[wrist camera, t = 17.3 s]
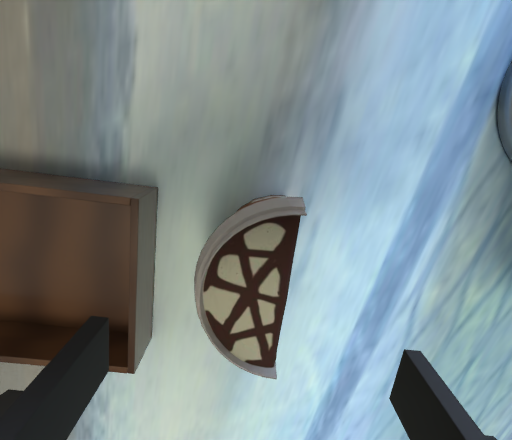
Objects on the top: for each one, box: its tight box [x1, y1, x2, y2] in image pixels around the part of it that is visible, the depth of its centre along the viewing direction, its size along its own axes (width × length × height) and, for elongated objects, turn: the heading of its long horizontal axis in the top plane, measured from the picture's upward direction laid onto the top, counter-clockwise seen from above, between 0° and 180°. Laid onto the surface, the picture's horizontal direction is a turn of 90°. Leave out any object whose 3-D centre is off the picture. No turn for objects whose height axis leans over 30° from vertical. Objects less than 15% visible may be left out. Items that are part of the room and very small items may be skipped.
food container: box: [194, 195, 307, 379], centre depth 24 cm, size 12×6×10 cm, turn 172°
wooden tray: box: [0, 168, 158, 374], centre depth 26 cm, size 21×15×5 cm
